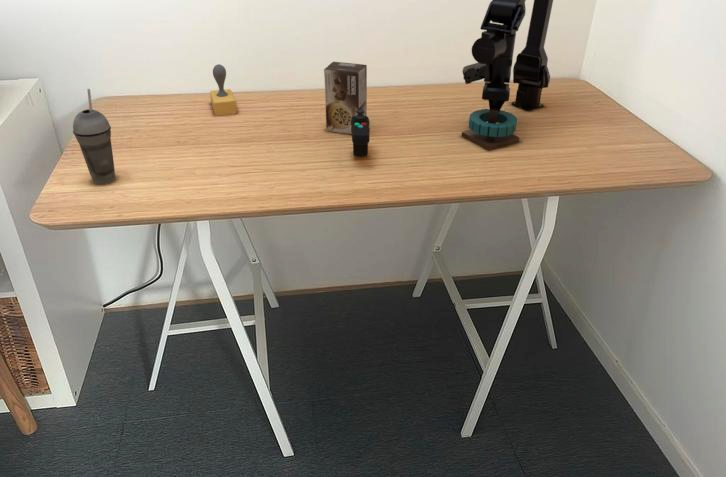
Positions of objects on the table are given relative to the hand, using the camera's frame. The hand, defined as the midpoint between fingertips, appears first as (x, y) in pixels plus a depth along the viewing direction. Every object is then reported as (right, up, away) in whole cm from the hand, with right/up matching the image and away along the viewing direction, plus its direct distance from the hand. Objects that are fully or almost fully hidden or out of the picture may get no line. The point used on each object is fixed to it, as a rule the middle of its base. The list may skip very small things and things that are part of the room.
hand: (492, 116), depth 154 cm
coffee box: (-37, -3, +3) cm, 37 cm away
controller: (-33, -12, -11) cm, 37 cm away
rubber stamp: (-71, +5, +15) cm, 72 cm away
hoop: (-1, -3, -3) cm, 5 cm away
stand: (-1, -6, -2) cm, 6 cm away
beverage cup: (-88, -18, -22) cm, 92 cm away
